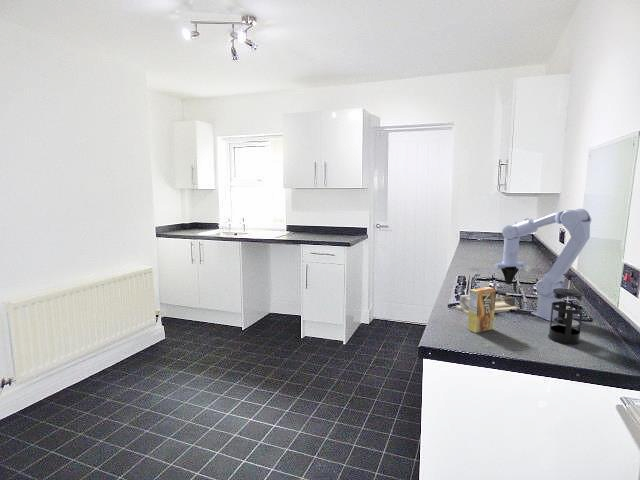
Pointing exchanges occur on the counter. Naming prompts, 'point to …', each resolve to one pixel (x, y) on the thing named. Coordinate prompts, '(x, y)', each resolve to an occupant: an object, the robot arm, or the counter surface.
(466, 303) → the cord rig
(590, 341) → the counter surface
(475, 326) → the candy box
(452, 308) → the counter surface
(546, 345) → the counter surface
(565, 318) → the french press
